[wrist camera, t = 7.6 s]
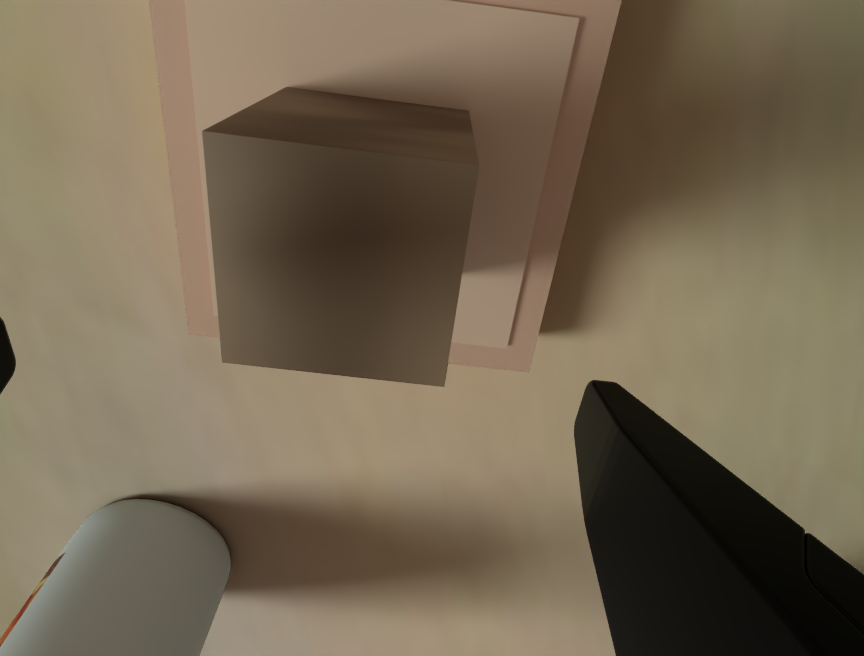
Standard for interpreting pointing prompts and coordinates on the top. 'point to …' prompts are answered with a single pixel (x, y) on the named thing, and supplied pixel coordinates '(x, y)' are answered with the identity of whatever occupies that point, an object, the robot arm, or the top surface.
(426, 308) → the walnut block
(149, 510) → the milk bottle
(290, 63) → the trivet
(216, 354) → the top surface
